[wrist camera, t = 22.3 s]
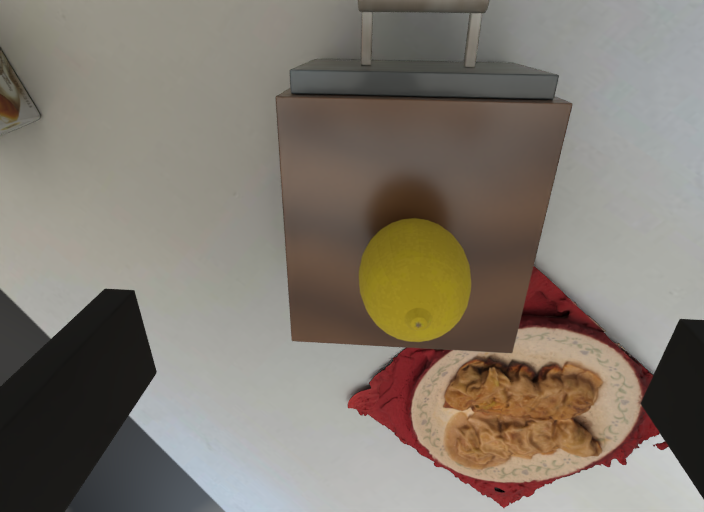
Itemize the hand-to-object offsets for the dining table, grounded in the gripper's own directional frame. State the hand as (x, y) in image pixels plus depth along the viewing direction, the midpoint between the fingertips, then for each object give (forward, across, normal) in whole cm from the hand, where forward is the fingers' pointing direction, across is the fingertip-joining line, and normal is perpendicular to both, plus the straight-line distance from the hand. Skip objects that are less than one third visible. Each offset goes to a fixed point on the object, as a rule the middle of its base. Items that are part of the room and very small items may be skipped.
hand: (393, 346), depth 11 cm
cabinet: (+25, +1, -4) cm, 25 cm away
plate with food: (+25, +14, -27) cm, 40 cm away
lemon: (+14, +1, -4) cm, 15 cm away
